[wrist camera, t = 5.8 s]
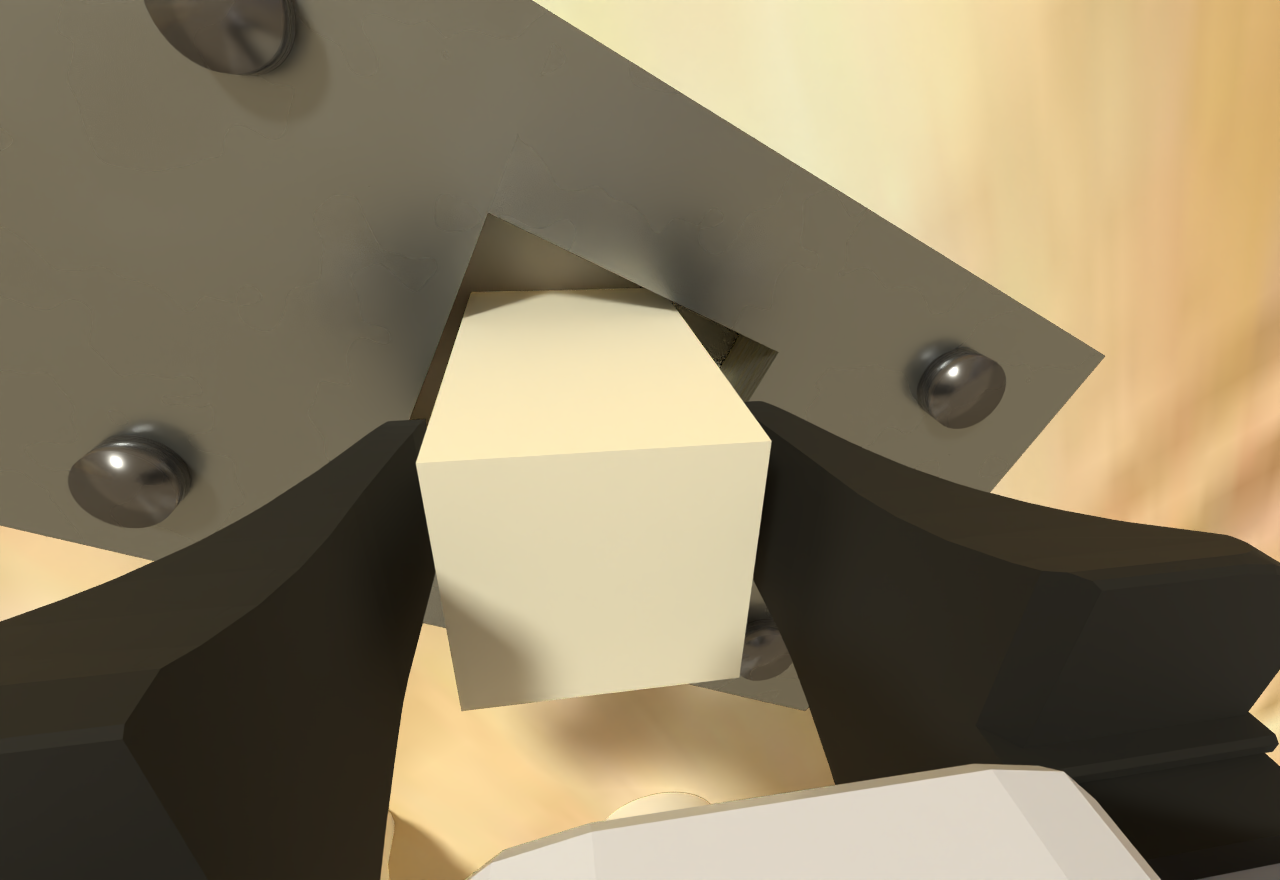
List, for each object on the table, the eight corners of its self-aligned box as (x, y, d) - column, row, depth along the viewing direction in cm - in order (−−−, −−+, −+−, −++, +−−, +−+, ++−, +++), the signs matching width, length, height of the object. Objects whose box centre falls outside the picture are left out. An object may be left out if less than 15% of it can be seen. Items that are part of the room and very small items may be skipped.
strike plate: (1039, 327, 15) (1128, 366, 13) (780, 657, 20) (813, 729, 17) (80, -258, 8) (-88, -393, 6) (12, 453, 13) (-99, 529, 10)
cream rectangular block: (661, 287, 13) (771, 440, 7) (655, 448, 15) (739, 677, 9) (471, 291, 13) (415, 463, 7) (490, 458, 15) (461, 711, 8)
